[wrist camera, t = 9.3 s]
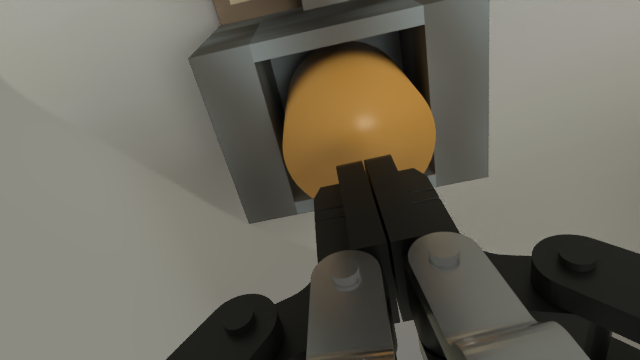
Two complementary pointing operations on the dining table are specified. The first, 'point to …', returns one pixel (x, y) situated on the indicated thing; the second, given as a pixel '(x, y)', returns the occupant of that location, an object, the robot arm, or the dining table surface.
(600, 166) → the dining table surface
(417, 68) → the stand
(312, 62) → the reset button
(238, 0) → the carriage
